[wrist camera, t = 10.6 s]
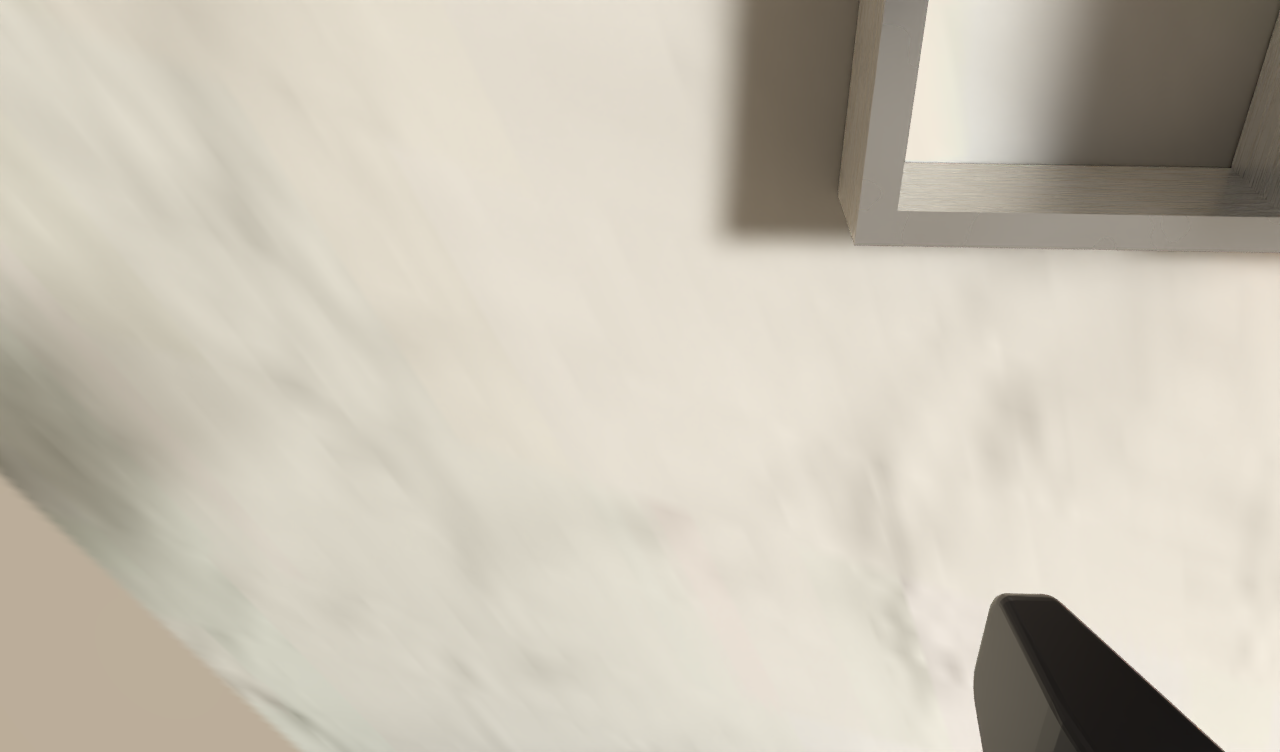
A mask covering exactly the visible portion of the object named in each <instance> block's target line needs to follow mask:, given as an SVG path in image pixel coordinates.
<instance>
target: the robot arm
mask: <svg viewBox="0 0 1280 752" xmlns="http://www.w3.org/2000/svg"><path fill="white" fill-rule="evenodd" d="M973 689H974V701H975V707H976V713H977V719H978V725H979V731H980V737H981V743H982V749H983V752H1225V751H1224V750H1223V749H1222V748H1220V747H1219V746H1218V745H1217V744H1216V743H1215V742H1214V741H1213V740H1212V739H1211V738H1209V737H1208V736H1207V735H1206V734H1205V733H1204V732H1203V731H1202V730H1201V729H1200V728H1198V727H1197V726H1196V725H1195V724H1194V723H1193V722H1192V721H1191V720H1190V719H1189V718H1187V717H1186V716H1185V715H1184V714H1183V713H1182V712H1181V711H1180V710H1179V709H1178V708H1176V707H1175V706H1174V705H1173V704H1172V703H1171V702H1170V701H1169V700H1168V699H1167V698H1165V697H1164V696H1163V695H1162V694H1161V693H1160V692H1159V691H1158V690H1157V689H1156V688H1154V687H1153V686H1152V685H1151V684H1150V683H1149V682H1148V681H1147V680H1146V679H1145V678H1143V677H1142V676H1141V675H1140V674H1139V673H1138V672H1137V671H1136V670H1135V669H1134V668H1132V667H1131V666H1130V665H1129V664H1128V663H1127V662H1126V661H1125V660H1124V659H1123V658H1121V657H1120V656H1119V655H1118V654H1117V653H1116V652H1115V651H1114V650H1113V649H1112V648H1110V647H1109V646H1108V645H1107V644H1106V643H1105V642H1104V641H1103V640H1102V639H1101V638H1099V637H1098V636H1097V635H1096V634H1095V633H1094V632H1093V631H1092V630H1091V629H1090V628H1089V627H1087V626H1086V625H1085V624H1084V623H1083V622H1082V621H1081V620H1080V619H1079V618H1078V617H1076V616H1075V615H1074V614H1073V613H1072V612H1071V611H1070V610H1069V609H1068V608H1067V607H1065V606H1064V605H1063V604H1062V603H1061V602H1060V601H1058V600H1057V599H1055V598H1054V597H1052V596H1050V595H1045V594H1011V593H1005V594H1001V595H999V596H997V597H996V598H995V599H994V600H993V602H992V604H991V606H990V609H989V613H988V617H987V621H986V625H985V629H984V633H983V637H982V641H981V645H980V649H979V654H978V658H977V662H976V666H975V671H974V687H973Z"/></svg>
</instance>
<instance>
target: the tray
mask: <svg viewBox="0 0 1280 752" xmlns="http://www.w3.org/2000/svg"><path fill="white" fill-rule="evenodd" d="M927 6H928V0H860V2H859V11H858V20H857V28H856V37H855V46H854V54H853V63H852V72H851V81H850V89H849V98H848V107H847V115H846V124H845V133H844V142H843V150H842V159H841V168H840V177H839V185H838V197H839V200H840V203H841V206H842V209H843V212H844V215H845V219H846V222H847V225H848V228H849V231H850V234H851V237H852V240H853V243H854V245H868V246H926V247H984V248H1041V249H1099V250H1157V251H1214V252H1272V253H1280V12H1279V15H1278V18H1277V21H1276V24H1275V28H1274V31H1273V34H1272V37H1271V40H1270V44H1269V47H1268V50H1267V53H1266V56H1265V60H1264V63H1263V66H1262V69H1261V72H1260V76H1259V79H1258V82H1257V85H1256V88H1255V92H1254V95H1253V98H1252V101H1251V104H1250V108H1249V111H1248V114H1247V117H1246V120H1245V123H1244V127H1243V130H1242V133H1241V136H1240V139H1239V143H1238V146H1237V149H1236V152H1235V155H1234V159H1233V162H1232V165H1231V168H1204V167H1144V166H1085V165H1026V164H967V163H908V162H905V156H906V149H907V143H908V136H909V129H910V122H911V115H912V109H913V102H914V95H915V88H916V81H917V75H918V68H919V61H920V54H921V47H922V40H923V34H924V27H925V20H926V13H927Z"/></svg>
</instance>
